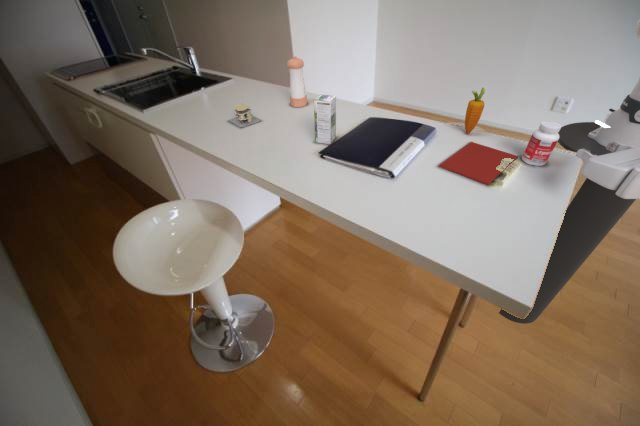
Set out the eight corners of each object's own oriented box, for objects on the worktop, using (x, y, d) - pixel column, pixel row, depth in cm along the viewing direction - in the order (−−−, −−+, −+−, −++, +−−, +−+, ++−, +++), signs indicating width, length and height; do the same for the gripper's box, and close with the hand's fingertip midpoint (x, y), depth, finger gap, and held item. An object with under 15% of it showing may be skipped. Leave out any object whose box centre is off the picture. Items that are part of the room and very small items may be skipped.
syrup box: (320, 135, 103) (318, 93, 93) (336, 137, 101) (336, 95, 92) (315, 142, 99) (312, 99, 89) (331, 144, 97) (330, 101, 88)
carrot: (463, 137, 97) (476, 91, 87) (457, 131, 101) (469, 86, 91) (477, 136, 97) (493, 90, 87) (471, 130, 101) (485, 85, 91)
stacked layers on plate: (228, 121, 117) (225, 107, 113) (247, 114, 121) (245, 101, 118) (241, 127, 111) (238, 113, 108) (260, 121, 116) (258, 107, 112)
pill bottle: (528, 166, 81) (546, 129, 74) (516, 156, 86) (532, 120, 79) (550, 166, 81) (570, 128, 74) (537, 155, 86) (555, 119, 79)
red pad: (470, 143, 94) (471, 141, 93) (517, 157, 85) (517, 155, 85) (438, 166, 83) (439, 164, 83) (487, 185, 75) (488, 183, 75)
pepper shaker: (298, 108, 125) (294, 59, 113) (287, 104, 129) (282, 57, 116) (310, 103, 129) (307, 55, 116) (299, 100, 133) (295, 53, 120)
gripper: (711, 154, 58) (635, 128, 68) (637, 173, 54) (568, 142, 64) (686, 181, 62) (618, 152, 72) (616, 200, 58) (554, 167, 68)
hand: (594, 148), depth 68 cm, fingers open, 8 cm apart
